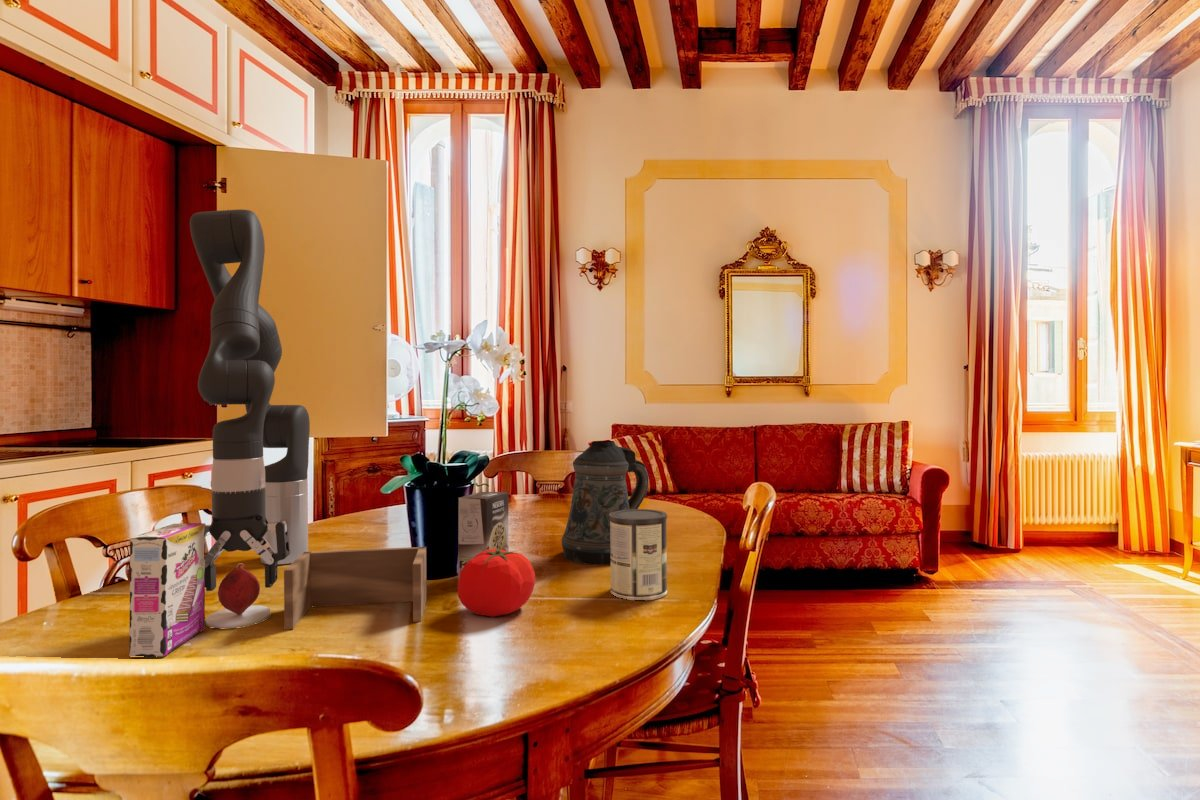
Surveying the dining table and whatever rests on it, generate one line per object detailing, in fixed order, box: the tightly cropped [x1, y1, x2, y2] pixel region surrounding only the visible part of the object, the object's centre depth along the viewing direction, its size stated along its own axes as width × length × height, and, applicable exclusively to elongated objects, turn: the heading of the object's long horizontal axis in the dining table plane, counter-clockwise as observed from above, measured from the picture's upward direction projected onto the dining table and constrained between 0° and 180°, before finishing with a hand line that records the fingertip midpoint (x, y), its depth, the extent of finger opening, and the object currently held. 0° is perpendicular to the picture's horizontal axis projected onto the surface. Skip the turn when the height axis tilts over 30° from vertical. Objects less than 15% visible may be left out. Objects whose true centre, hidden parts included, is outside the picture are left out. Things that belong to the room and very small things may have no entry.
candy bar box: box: [128, 522, 206, 659], centre depth 96 cm, size 11×5×16 cm, turn 5°
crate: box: [283, 546, 428, 631], centre depth 109 cm, size 12×20×9 cm, turn 100°
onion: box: [217, 562, 261, 614], centre depth 106 cm, size 6×6×8 cm
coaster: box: [205, 604, 271, 629], centre depth 106 cm, size 9×9×1 cm
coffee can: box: [609, 508, 668, 601], centre depth 120 cm, size 10×10×14 cm
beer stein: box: [561, 440, 650, 565], centre depth 148 cm, size 16×19×25 cm
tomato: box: [457, 548, 536, 618], centre depth 110 cm, size 11×13×10 cm
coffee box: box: [457, 491, 510, 582], centre depth 130 cm, size 9×6×16 cm
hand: (240, 588), depth 107 cm, fingers open, 8 cm apart
